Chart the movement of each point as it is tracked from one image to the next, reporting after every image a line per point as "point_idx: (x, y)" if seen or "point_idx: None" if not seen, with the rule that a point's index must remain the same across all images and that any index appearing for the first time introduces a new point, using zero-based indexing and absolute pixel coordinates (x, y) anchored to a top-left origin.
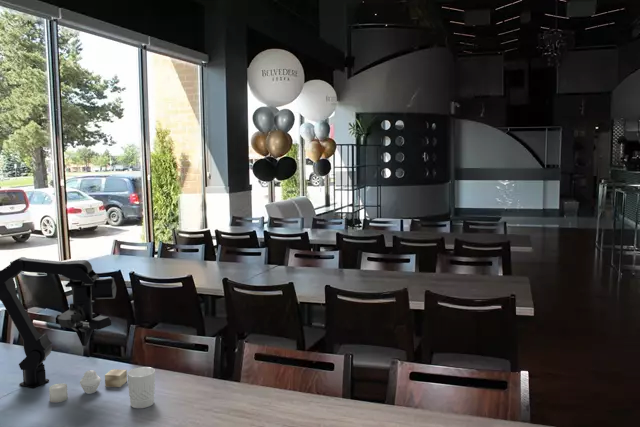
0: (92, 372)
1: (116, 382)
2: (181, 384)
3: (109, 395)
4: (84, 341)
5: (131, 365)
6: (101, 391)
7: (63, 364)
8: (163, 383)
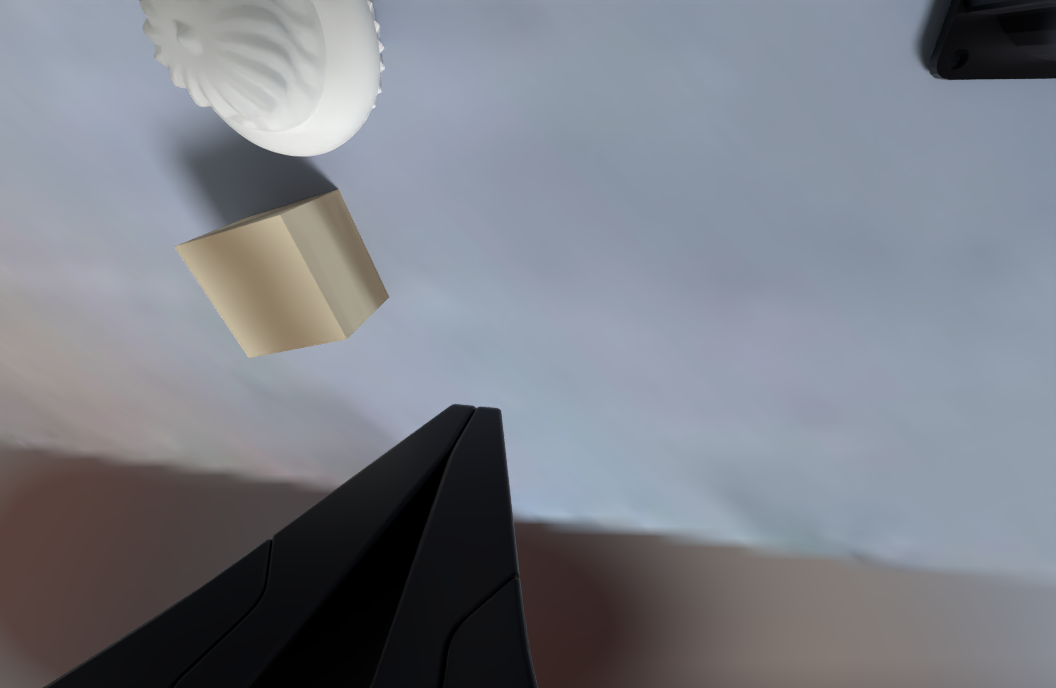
0: (149, 31)
1: (241, 221)
2: (47, 361)
3: None
4: (376, 463)
5: None
6: None
7: (998, 437)
8: (118, 347)
